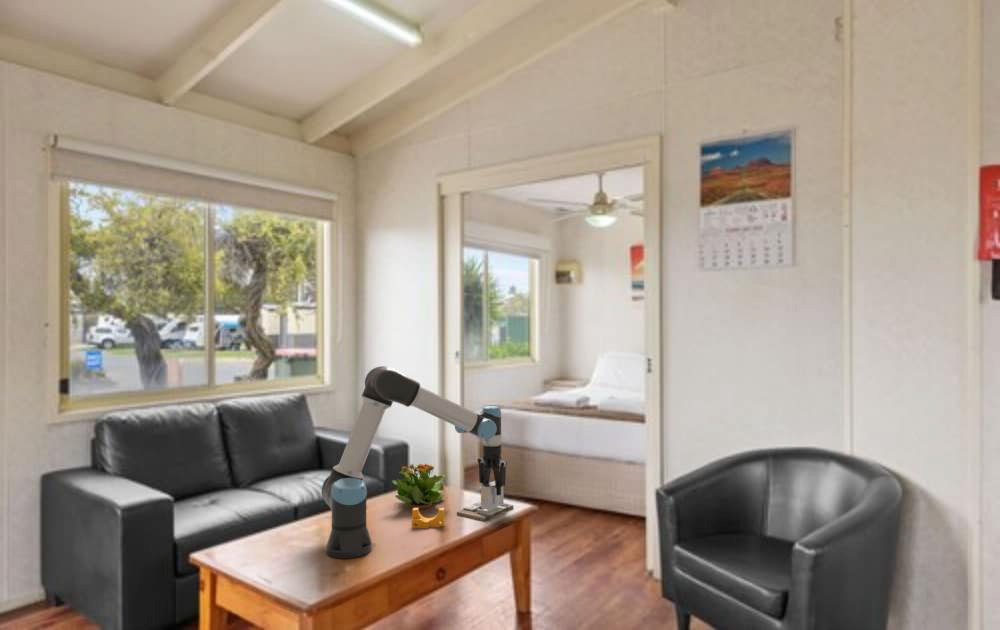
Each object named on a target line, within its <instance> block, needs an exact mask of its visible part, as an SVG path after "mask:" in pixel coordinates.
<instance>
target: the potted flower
mask: <svg viewBox="0 0 1000 630" xmlns="http://www.w3.org/2000/svg"><path fill="white" fill-rule="evenodd" d="M434 469H435V466H433V465H430V464H427V463H424V464H421V463H419V464H418V465H417V466H415V465H414V464H413V463H411V464H409V466H408V467H407V466H406V465H405V466H402V467H401V471H399V472H398V473H399V474H401V475H403V476H404V479H403V478H402V479H398V478H397V479H394V480H391V482H392V483H393V485H394V486H397V494H396V495H395V498H396V499H398V500H399V501H401V502H402V503H403V502H404V503H406V504H408V505H409V507H410V508H412V509H413V508H419V510H421V509H422V510H423V509H426V508H430V507H431V506H433V503H434V504H436V503H437V504H438V503H439V502H441V501H442V499H443V498H444V494H443V493H441V492H439V491H444V483H443V482H440V481H441V480H442V478H443V479H444V478H446V477H447V475H446V473H445V474H442V475H436V474H435V475H433V476H431V477H430V474H431V473H433V470H434ZM439 482H440V483H439Z"/></svg>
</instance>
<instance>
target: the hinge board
mask: <svg viewBox="0 0 1000 630" xmlns="http://www.w3.org/2000/svg"><path fill="white" fill-rule="evenodd" d="M507 504H508V507H507V508H505V509H503V510H501V511H498V512H496V513H494V514H491V515H489V516H488V515H484V514H480V513H477V509H481V510H484V509H483V508H481V500H480V501H478V502H475V503H473V504H470V505H468V506H465V507H463V508H462V509H460V510H458V511H456V515H457V516H460V517H464V516H465V517H466V518H469V519H474V520H477V521H482V522H486V521H488V520H490V519H493V518H495V517H496V516H499V515H501V514H504V513H506V512H508V511H510V510H513V509H514V505H513V504H509V503H507ZM465 517H464V518H465Z"/></svg>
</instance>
